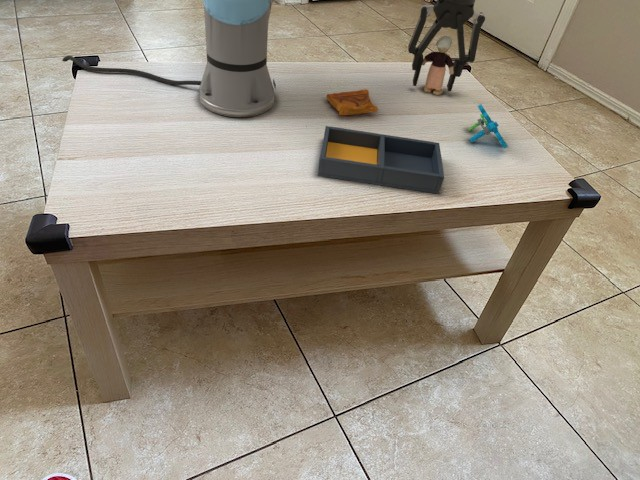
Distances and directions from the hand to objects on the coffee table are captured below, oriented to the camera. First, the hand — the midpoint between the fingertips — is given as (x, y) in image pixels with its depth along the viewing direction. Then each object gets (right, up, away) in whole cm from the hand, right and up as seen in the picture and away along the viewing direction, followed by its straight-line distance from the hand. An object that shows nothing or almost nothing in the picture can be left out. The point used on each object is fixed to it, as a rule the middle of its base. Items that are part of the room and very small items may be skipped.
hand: (431, 85), depth 113 cm
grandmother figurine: (0, -1, +1) cm, 1 cm away
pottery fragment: (-19, -8, -9) cm, 23 cm away
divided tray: (-15, -23, -25) cm, 37 cm away
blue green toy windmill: (+8, -16, -14) cm, 22 cm away
